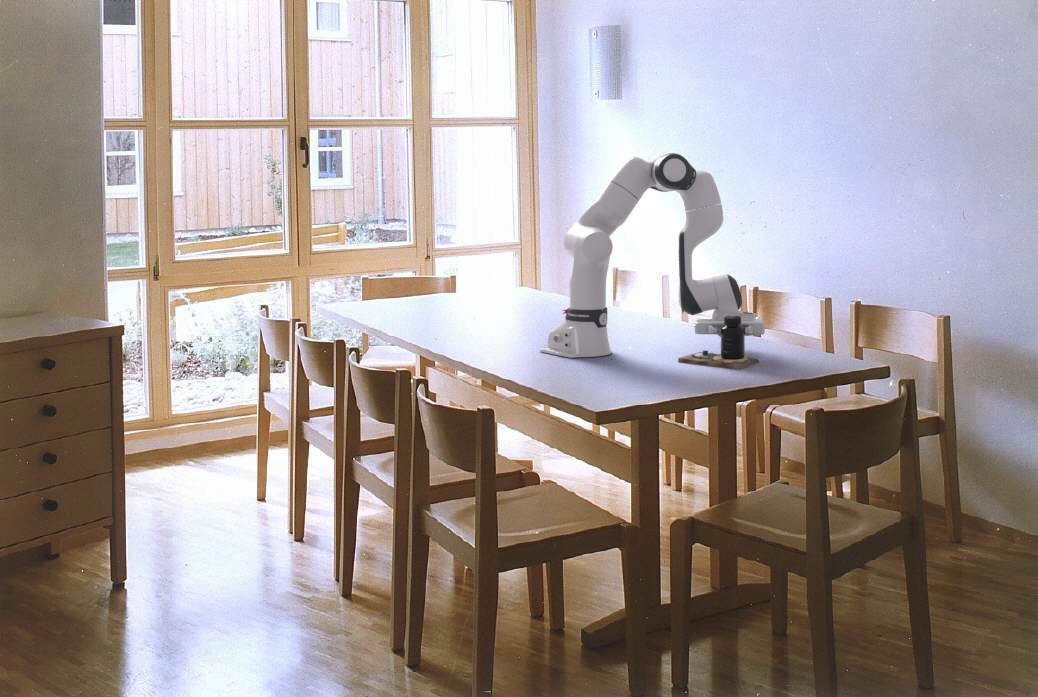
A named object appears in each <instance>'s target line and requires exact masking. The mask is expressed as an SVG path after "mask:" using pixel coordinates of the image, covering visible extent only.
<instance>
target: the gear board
mask: <svg viewBox="0 0 1038 697" xmlns="http://www.w3.org/2000/svg"><path fill="white" fill-rule="evenodd" d="M677 362H678V363H684V364H692V365H700V366H705V367H706V366H707V367H713V368H722V369H730V370H737V371H738V370H741V369H744V368H748V367H752V366H754V365H757V364H759V363H760V359H759V358H752V357H751V356H746V355H745V356H744V358H743V359H738V360H728V359H723V358H722V357H721V353H714V352H709V351H708V350H707V349H706V350H705V349H704V350H702V351H699V352H695V353H691V354H688V355H685V356H681V357H678V358H677Z"/></svg>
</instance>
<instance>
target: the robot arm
mask: <svg viewBox="0 0 1038 697" xmlns="http://www.w3.org/2000/svg"><path fill="white" fill-rule="evenodd" d="M649 189H652V190H655V191H657V192H662V193H667V192H668V193H669V192H677V193H679V195H680V197H681V199H682V201H683V205H684V211H685V224H684V226H683V228H682V229H681V230H680V231H679V235H678V277H679V287H678V298H677V299H678V304H679V306H680V308H681V310H682V311H683V312H684V313H685V314H688V315H691V316H695V315H697V314H698V315H699V314H701V313H703V312H708V311H713V312H712V314H711V318H700V319H699V318H698V319H696V321H694V323H693V324H692V325H693V328H694V329H695V330H694V334H696V335H717V336H719V338H721V328H722V327H723V326H725V324H724V317H726V316H740V317H741V324H740V325H741V326H742V327H743V328H744V330H745V337H746V336H757V335H759V336H760V335H762V336H763V335H765V331H766V330H765V329H766V324H765V320H764V319H763V318H761V317H759V316H758V315H759V314H758V313H755V312H748V311H747V312H746V311H741V307H742V305H743V297H742V293H741V290H740V287H739V283H738V281H737V280H736V279H735V278H734V277H733V276H732V275H730V274H729V273H728V274H722V275H717V276H712V277H708V278H705V279H699V280H694V279H693V259H692V258H693V253H694V250H695V249H696V248H697V247H698V246H699V245H700V244H702V243H703V242H704V241H706V240H707V239H709V238H710V237H712V236H714V235H715V234H716V233H717V232H718V231H719V230H720V228H722V226H723V222H724V211H723V204H722V199H721V197H720V192H719V189H718V186H717V184H716V182H715V179H714V177H713V175H712V174H711V173H710V172H708V171H704V170H698V171H697V170H696V169H695V168H694V167H693V165H692V164H690V162H689V161H688V160H687V159H686V158H685V157H684V156H683V155H681V154H679V153H676V152H675V153H673V152H671V153H667V154H663V155H660V156H659V157H657V158H656V159H654V160H652V161H650V162H649V161H646V160H644V159H643V158H641V157H637V156H631V157H628V158H627V159H626V160H624V162H623V163H621V165H619V167H618V168H617V169H616V170H615V172H614V173H613V174H612V175H611V176H610V178H609V180H608V181H607V183H606V184H605V185H604V186H603V188H602V190H601V191H600V193H599V194H598V195H597V197H596V198H595V200H594V201H593V202H592V204H591V205H590V206H589V207H587V209H586V211H585V212H584V213H583V214H581V216H580V217H579V218H578V220H576V222H575V223H574V224H573V225H572V226H571V228H569V229H567V231H566V233H565V234H564V236H563V246H564V249H565V251H566V253H567V254H568V255H569V257H571V258H573V267H572V274H571V277H570V280H569V307H568V308H567V309H563V310H562V314H563V315H565V314H566V315H565V317H564V318H565V319H564V320H562V321H561V322H560V323H559V324H558V325H556V326H555V327H554V328H553V329H551V330H550V331H549V334H548V337H547V345H544V346H542V347H540V349H539V350H540V351H539V352H541V353H545V354H550V355H553V356H554V355H555V356H558V357H559V356H560V357H566V358H592V357H593V358H595V357H603V356H608V355H610V354H612V350H611V346H610V342H609V337H608V327H607V325H608V307H607V277H608V270H609V266H610V265H609V264H610V257H611V255H612V252H613V241H612V239H611V236H612V234H613V233H615V231H616V230H617V229H618V228H620V227H621V226H622V225H623V224H624V223H625V222H626V220H627V219H628V218H629V216H630V215H631V213H632V212H633V210H635V207H636V206H637V204H638V203H639V202H640V200H641V198H642V197H643V195H644V194H645V192H647V190H649Z"/></svg>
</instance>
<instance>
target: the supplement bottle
mask: <svg viewBox="0 0 1038 697" xmlns="http://www.w3.org/2000/svg"><path fill="white" fill-rule="evenodd" d="M724 324H725V326H723V327H722V328H721V337H720V354H721V357H722V358H723V359H728V360H738V359H743V358H744V356H745V357H746V354H745V346H746V344H745V340H746V339H745V338H746V336H745V330H744V328H743V327H742V326H741V325H740V324H741V317H740V316H726V317H724Z"/></svg>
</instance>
